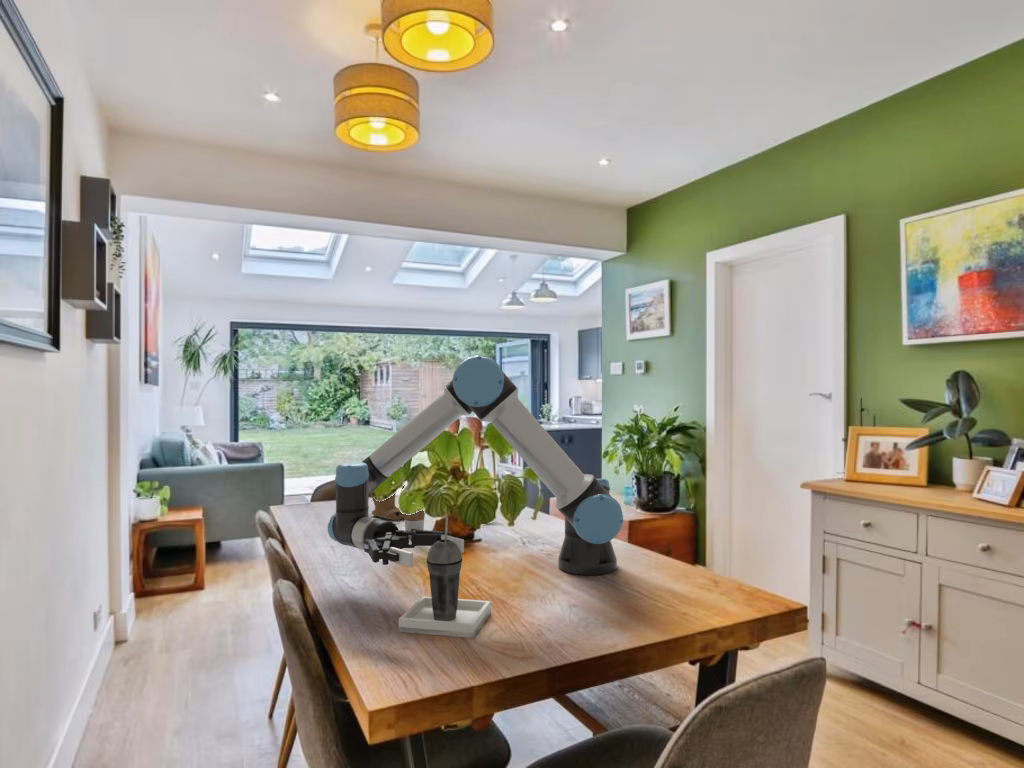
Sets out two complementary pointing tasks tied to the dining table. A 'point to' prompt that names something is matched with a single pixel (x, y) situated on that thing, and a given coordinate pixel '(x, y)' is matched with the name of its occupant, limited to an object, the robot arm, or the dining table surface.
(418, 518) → the coffee cup
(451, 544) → the beverage cup
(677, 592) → the dining table surface
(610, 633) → the dining table surface
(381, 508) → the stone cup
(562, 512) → the robot arm
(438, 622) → the tray
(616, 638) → the dining table surface
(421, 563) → the dining table surface
